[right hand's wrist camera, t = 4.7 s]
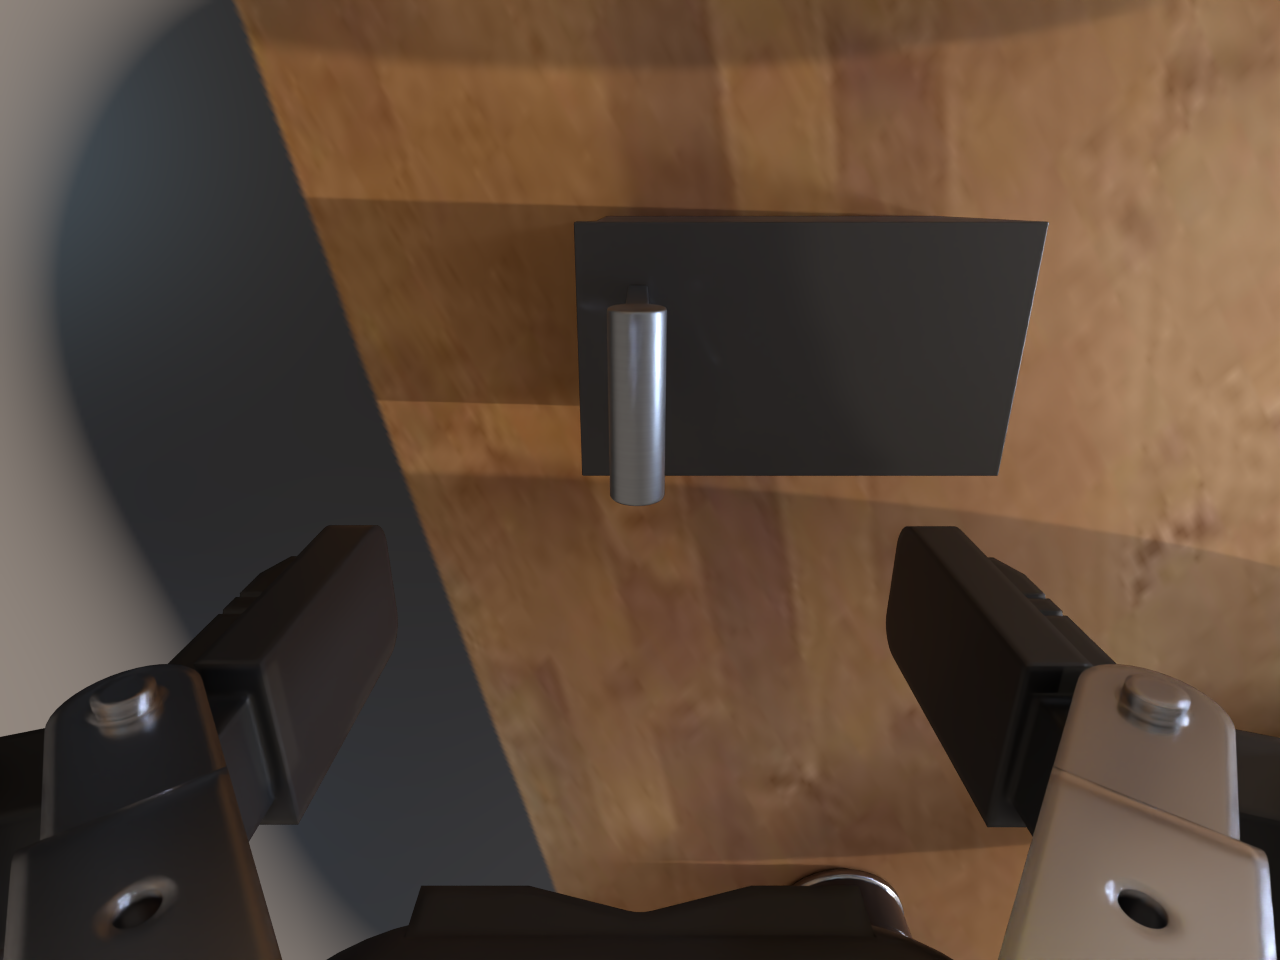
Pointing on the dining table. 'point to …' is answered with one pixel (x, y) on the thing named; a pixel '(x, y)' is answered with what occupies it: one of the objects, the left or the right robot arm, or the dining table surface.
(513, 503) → the dining table surface
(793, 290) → the lid
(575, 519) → the dining table surface
